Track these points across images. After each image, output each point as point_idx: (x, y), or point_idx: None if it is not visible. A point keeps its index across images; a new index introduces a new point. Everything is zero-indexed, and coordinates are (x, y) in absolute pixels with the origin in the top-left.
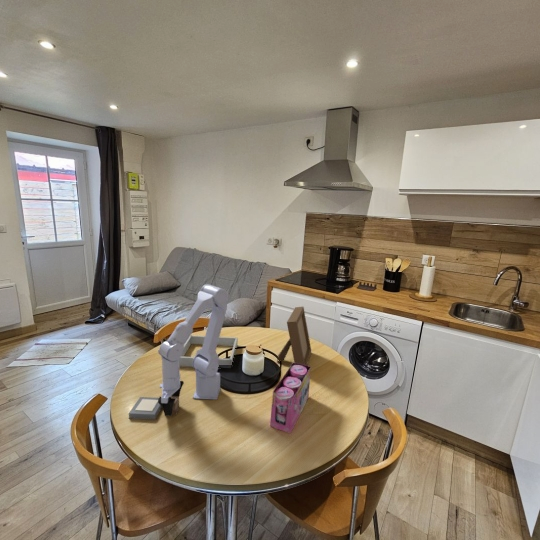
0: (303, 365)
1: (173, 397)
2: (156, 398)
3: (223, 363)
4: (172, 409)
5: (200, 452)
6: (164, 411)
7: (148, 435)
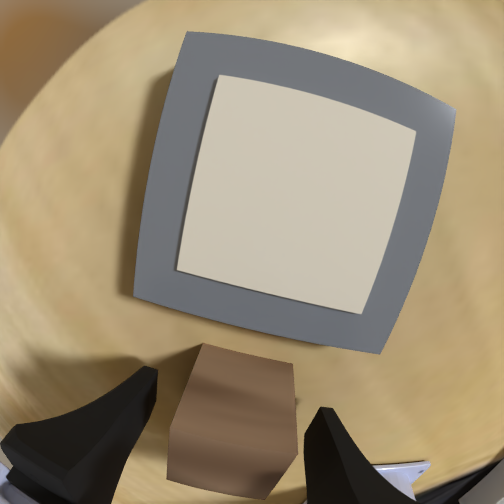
0: None
1: (252, 480)
2: (399, 285)
3: (483, 497)
4: (136, 439)
5: (25, 421)
6: (121, 389)
7: (32, 251)
